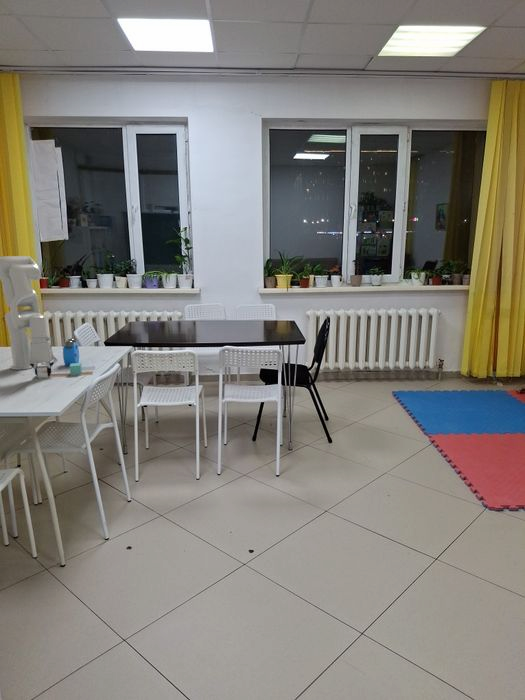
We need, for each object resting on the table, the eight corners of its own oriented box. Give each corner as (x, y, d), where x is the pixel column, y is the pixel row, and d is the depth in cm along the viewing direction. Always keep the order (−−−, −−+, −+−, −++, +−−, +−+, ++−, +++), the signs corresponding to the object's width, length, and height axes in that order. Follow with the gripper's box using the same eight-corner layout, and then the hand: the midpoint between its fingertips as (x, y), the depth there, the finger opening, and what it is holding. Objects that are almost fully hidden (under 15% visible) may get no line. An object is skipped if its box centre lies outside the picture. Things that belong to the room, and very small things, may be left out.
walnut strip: (39, 376, 237) (38, 365, 236) (93, 372, 244) (92, 361, 242) (37, 380, 231) (35, 368, 229) (92, 376, 237) (91, 365, 236)
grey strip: (44, 371, 247) (42, 360, 246) (95, 368, 253) (94, 357, 252) (41, 374, 240) (40, 363, 239) (94, 371, 247) (93, 360, 245)
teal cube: (71, 373, 240) (70, 363, 239) (82, 372, 241) (81, 363, 240) (70, 375, 235) (69, 366, 234) (80, 374, 236) (79, 365, 235)
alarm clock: (69, 363, 264) (66, 337, 261) (80, 362, 265) (78, 336, 262) (64, 369, 252) (61, 342, 248) (76, 368, 253) (73, 341, 250)
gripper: (59, 337, 236) (62, 372, 240) (22, 339, 232) (27, 374, 236) (56, 340, 229) (60, 376, 233) (19, 342, 225) (23, 378, 229)
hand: (43, 375), depth 234 cm, fingers closed on walnut strip, 4 cm apart
